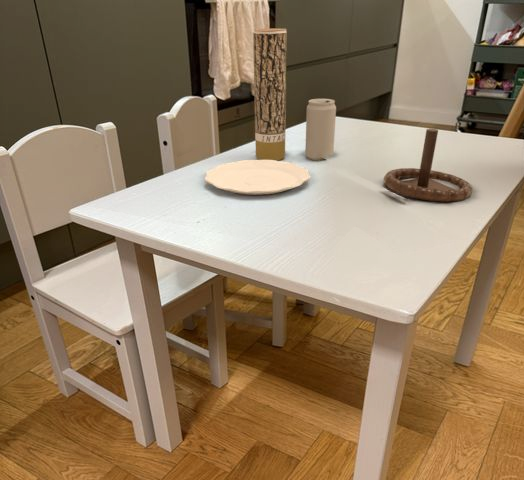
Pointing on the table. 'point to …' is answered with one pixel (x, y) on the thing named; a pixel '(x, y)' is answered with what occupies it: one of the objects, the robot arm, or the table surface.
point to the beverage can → (320, 129)
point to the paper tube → (270, 92)
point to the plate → (257, 176)
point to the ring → (427, 193)
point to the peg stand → (427, 164)
